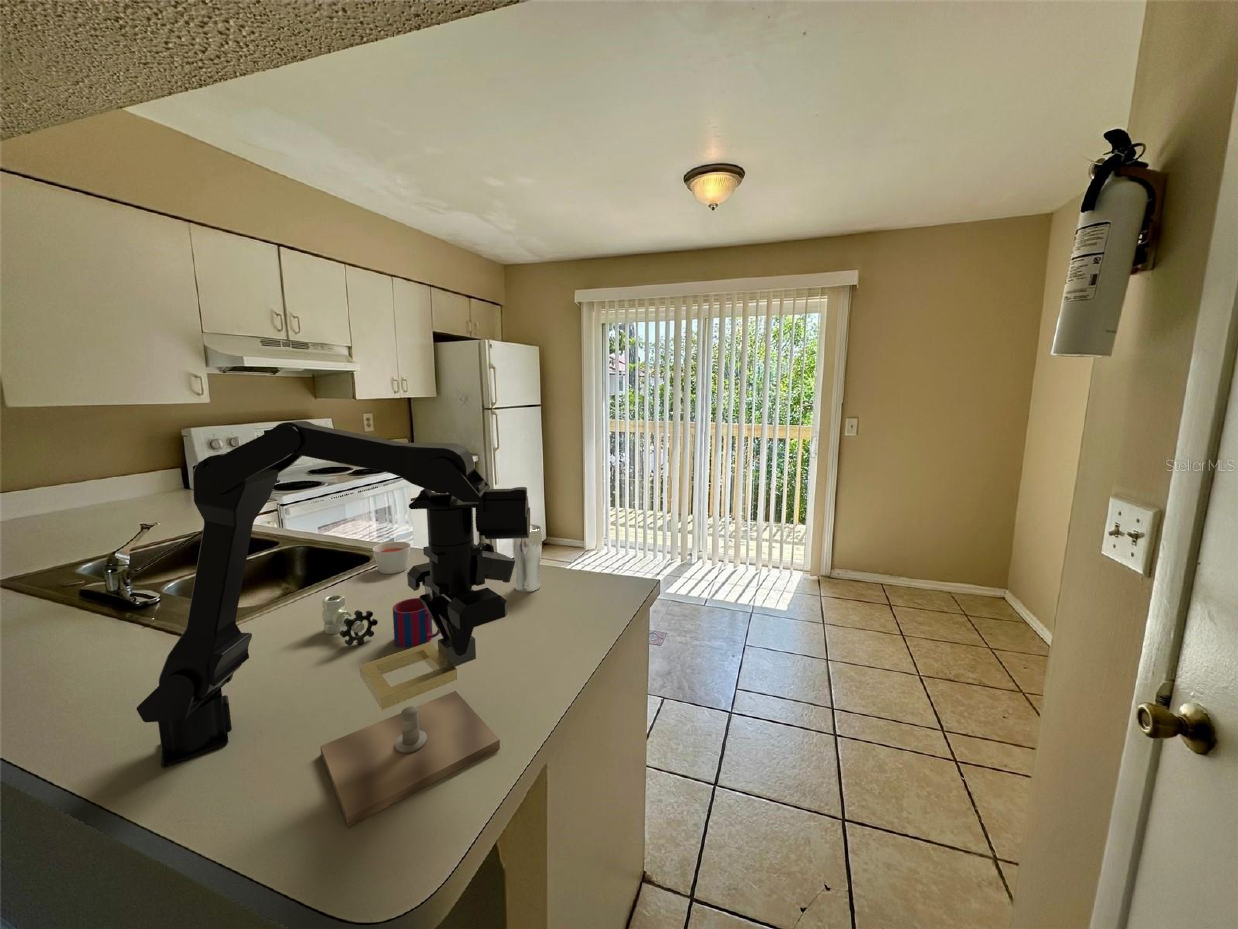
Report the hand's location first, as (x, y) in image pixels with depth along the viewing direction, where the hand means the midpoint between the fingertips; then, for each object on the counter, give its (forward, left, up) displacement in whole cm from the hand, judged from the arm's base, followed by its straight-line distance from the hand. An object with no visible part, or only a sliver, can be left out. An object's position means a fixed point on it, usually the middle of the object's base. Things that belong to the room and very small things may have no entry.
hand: (456, 649), depth 65 cm
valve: (-6, +39, -12) cm, 41 cm away
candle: (+12, +70, -12) cm, 72 cm away
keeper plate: (-7, 0, -12) cm, 13 cm away
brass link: (-4, 0, -1) cm, 5 cm away
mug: (+4, +28, -12) cm, 31 cm away
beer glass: (+33, +37, -12) cm, 51 cm away
